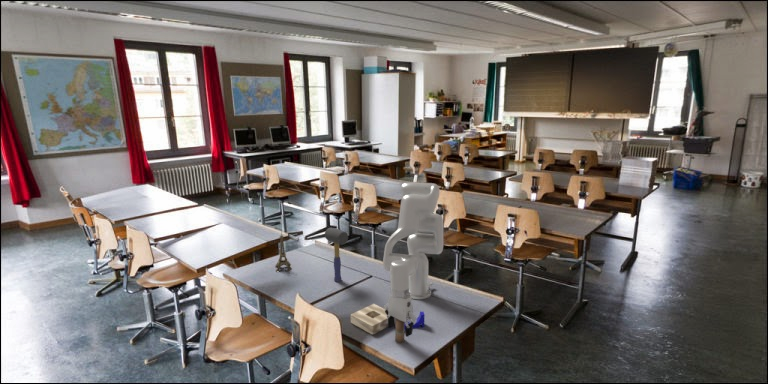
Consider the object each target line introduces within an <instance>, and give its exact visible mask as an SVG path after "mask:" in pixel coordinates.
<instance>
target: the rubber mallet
mask: <svg viewBox="0 0 768 384" xmlns="http://www.w3.org/2000/svg"><path fill="white" fill-rule="evenodd" d="M324 238H325V239H326V240H327V241H328V242H329V241H330V242H331V243H334V248H333V249H334V258H333V269H334V277H333V281H334V282H335V283H340V282H341V281H342V276H341V275H342V273H341V270H342V269H341V266H342V264H341V263H342V262H341V257H340V256H341V255H340V245H341V246H342V245H346V243H347V242H348V239H349V235H348V233H347V232H346V231H344V230H342V229H339V228H335V227H328V228H327V229H326V230H325V231H324Z"/></svg>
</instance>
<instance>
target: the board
mask: <svg viewBox="0 0 768 384" xmlns="http://www.w3.org/2000/svg"><path fill="white" fill-rule="evenodd" d="M350 323H351V324H352V325H354V326H356V327H357V328H359V329H361V330H363V331H365V332H367V333H369V334H370V335H371V336H374V335H376V334H377V333H379V332H381V331H383V330H384V329H386V328H389V327H388V318H387V314H386V312H385V309H384V307H381V306H379V305H377V304H375V303H372V304H370V305H368V306H365V307H363V308H362V309H359V310H357V311H355V312H353V313H351V314H350ZM394 324H395V317H394Z"/></svg>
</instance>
